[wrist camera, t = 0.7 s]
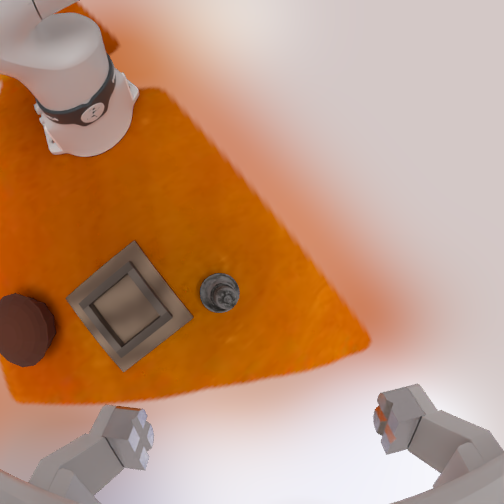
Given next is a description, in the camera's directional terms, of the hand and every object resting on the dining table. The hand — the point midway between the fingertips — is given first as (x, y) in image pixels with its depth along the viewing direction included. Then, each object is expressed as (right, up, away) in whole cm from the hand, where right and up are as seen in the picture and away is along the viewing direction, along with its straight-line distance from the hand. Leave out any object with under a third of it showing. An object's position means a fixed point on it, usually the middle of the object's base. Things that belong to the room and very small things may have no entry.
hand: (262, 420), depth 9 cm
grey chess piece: (-6, -1, +39) cm, 40 cm away
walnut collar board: (-20, -3, +35) cm, 41 cm away
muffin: (-37, -6, +32) cm, 49 cm away
